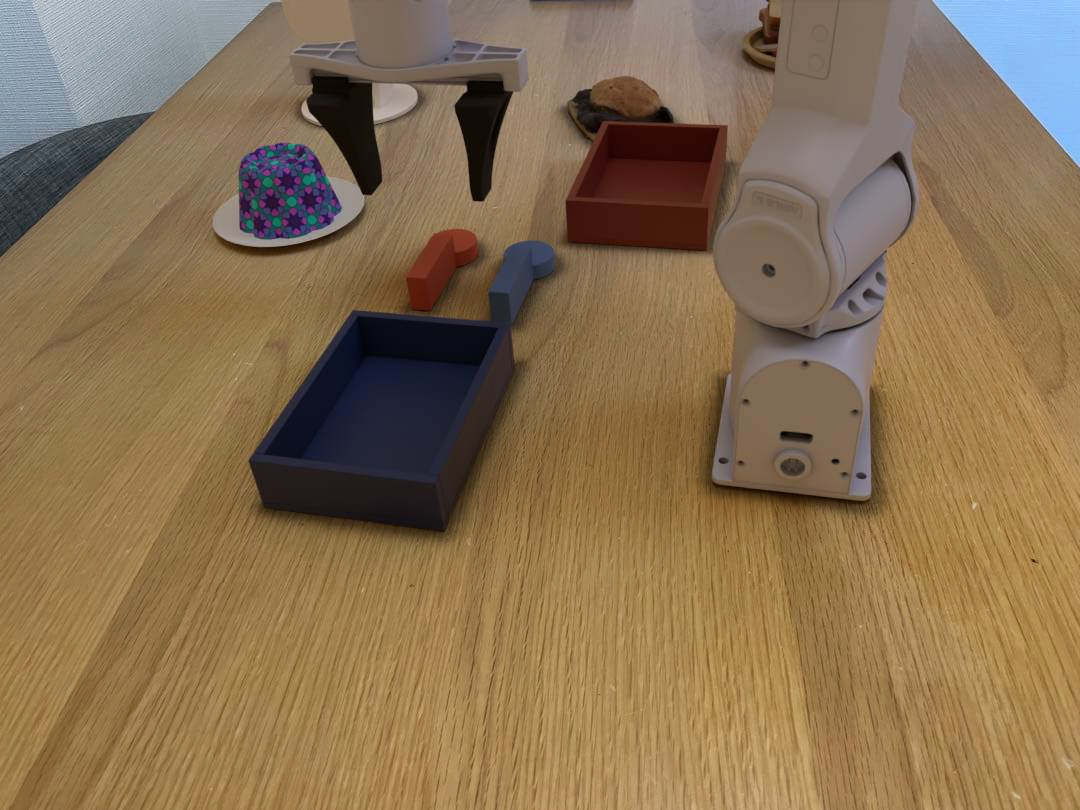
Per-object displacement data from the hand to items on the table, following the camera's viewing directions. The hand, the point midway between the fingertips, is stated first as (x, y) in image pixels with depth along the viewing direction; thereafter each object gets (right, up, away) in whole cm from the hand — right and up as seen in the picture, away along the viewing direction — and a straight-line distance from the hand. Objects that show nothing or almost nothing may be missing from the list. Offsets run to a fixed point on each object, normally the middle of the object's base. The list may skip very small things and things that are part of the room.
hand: (426, 191), depth 65 cm
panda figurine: (-10, +15, +32) cm, 37 cm away
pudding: (-12, +1, +14) cm, 19 cm away
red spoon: (0, -5, +6) cm, 7 cm away
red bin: (+16, +2, +12) cm, 20 cm away
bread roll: (+15, +12, +25) cm, 31 cm away
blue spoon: (+6, -6, +3) cm, 9 cm away
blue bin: (-1, -16, -8) cm, 18 cm away
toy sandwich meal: (+34, +22, +36) cm, 54 cm away
